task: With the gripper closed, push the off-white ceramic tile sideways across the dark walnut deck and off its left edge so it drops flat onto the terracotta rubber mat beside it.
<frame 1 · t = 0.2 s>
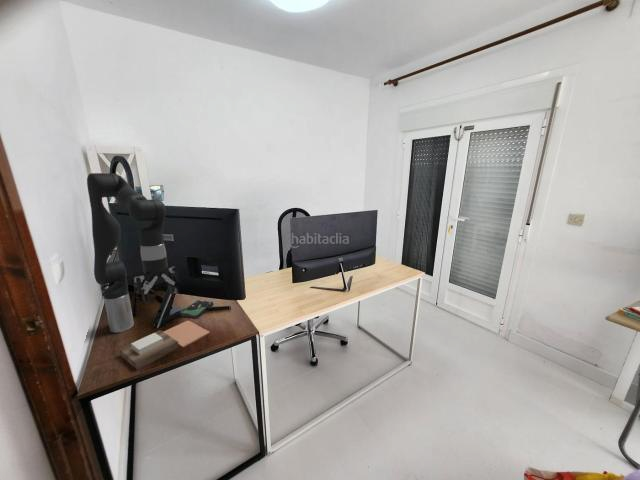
hand: (160, 298, 94), 28 cm above the table, fingers open, 8 cm apart
disk drive: (197, 311, 141), on the table
tile: (148, 345, 107), point 3 cm above the table, touching deck
mat: (185, 333, 120), on the table
deck: (150, 351, 108), on the table
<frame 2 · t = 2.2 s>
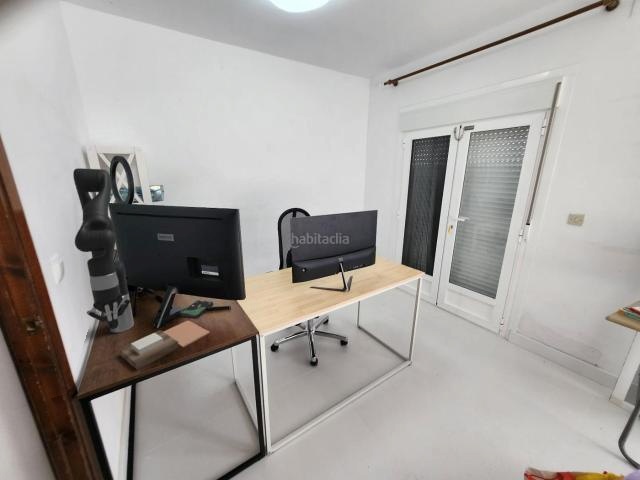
hand: (113, 328, 95), 17 cm above the table, fingers closed
nothing on the table moved.
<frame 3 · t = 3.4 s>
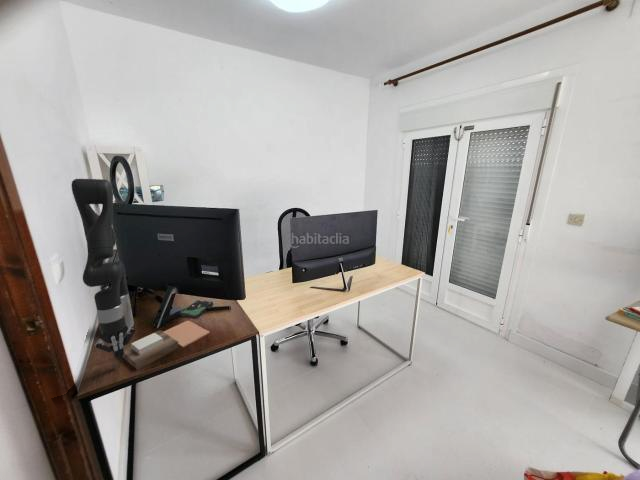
hand: (119, 357, 98), 4 cm above the table, fingers closed
nothing on the table moved.
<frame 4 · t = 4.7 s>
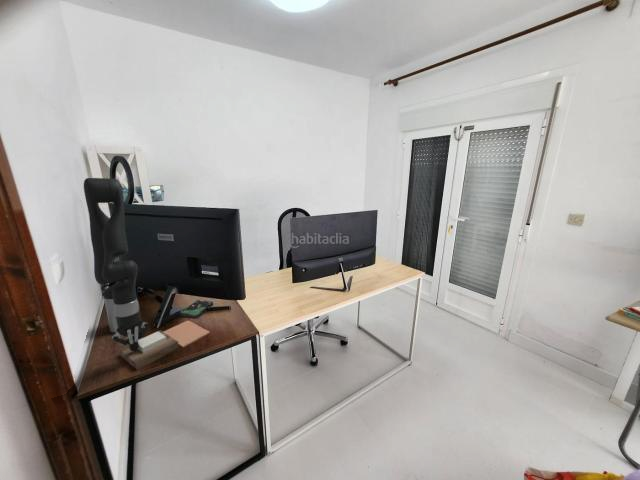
hand: (134, 349, 102), 4 cm above the table, fingers closed
tile: (151, 344, 108), point 3 cm above the table, touching deck
everything else where it was.
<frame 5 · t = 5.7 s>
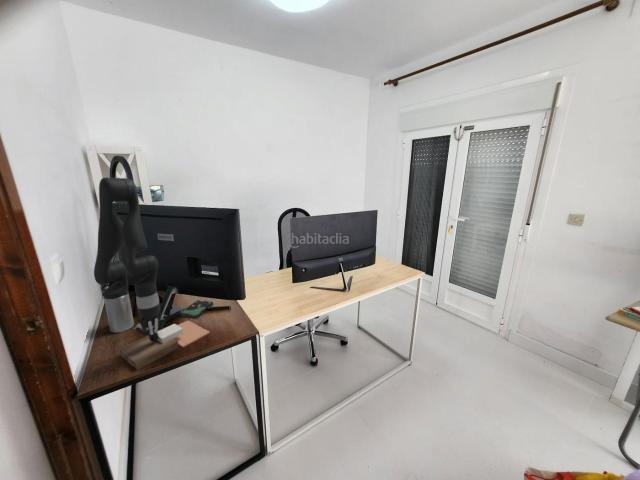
hand: (154, 340, 108), 4 cm above the table, fingers closed
tile: (169, 335, 114), point 3 cm above the table, touching deck
everything else where it was.
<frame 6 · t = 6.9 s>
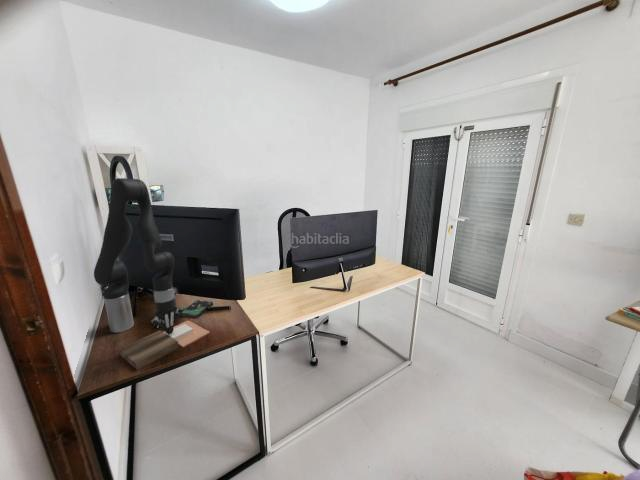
hand: (169, 333, 114), 4 cm above the table, fingers closed
tile: (179, 335, 118), point 1 cm above the table, touching mat
everything else where it was.
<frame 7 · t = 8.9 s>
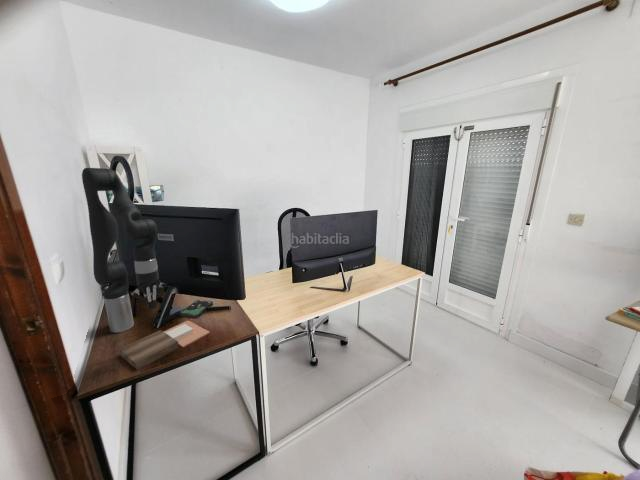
hand: (151, 308, 106), 19 cm above the table, fingers closed
nothing on the table moved.
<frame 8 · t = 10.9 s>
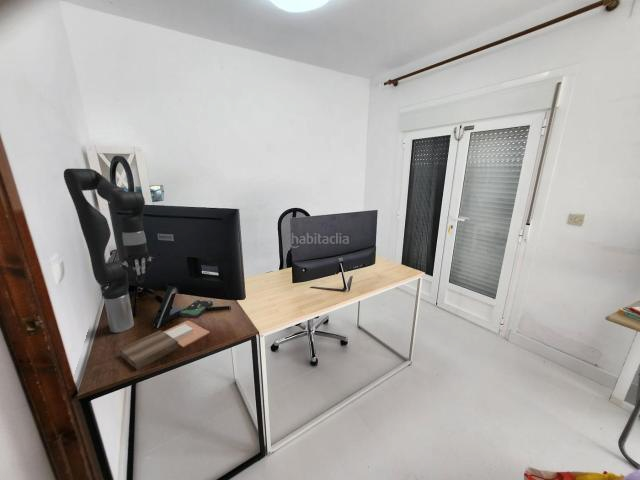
hand: (141, 282, 106), 29 cm above the table, fingers closed
nothing on the table moved.
at the end: tile inside the target area (2.9 cm from its centre), point 0.6 cm above the table; tile tilted 0° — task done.
